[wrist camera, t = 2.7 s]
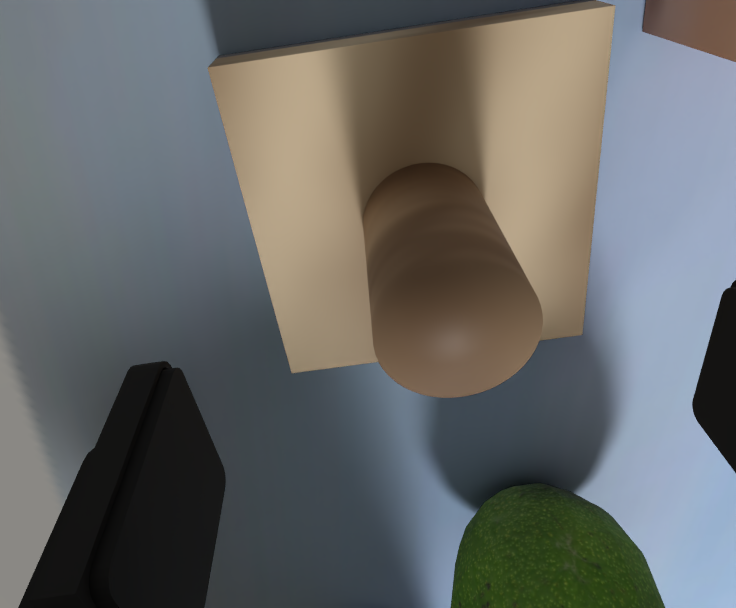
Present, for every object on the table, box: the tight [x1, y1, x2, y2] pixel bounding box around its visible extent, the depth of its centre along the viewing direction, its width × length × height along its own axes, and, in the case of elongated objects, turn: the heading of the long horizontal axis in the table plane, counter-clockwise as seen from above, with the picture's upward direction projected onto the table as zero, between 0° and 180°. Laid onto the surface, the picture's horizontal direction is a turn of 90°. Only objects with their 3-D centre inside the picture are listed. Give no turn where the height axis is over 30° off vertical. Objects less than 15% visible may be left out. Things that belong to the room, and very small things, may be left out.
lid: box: [208, 0, 615, 398], centre depth 15 cm, size 10×10×7 cm
